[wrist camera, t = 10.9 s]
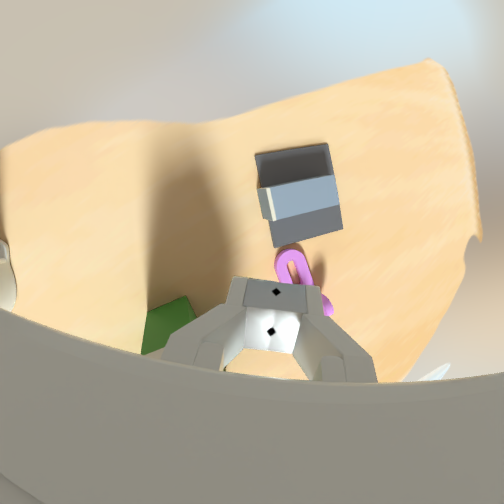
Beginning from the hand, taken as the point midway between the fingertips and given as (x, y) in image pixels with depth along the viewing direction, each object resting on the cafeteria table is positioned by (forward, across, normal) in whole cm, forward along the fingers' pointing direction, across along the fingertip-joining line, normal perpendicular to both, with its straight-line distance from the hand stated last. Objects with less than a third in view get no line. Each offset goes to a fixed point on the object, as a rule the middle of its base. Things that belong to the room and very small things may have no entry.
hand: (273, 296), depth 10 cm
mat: (+42, -5, +9) cm, 43 cm away
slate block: (+36, +2, +10) cm, 37 cm away
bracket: (+37, -6, +24) cm, 44 cm away
